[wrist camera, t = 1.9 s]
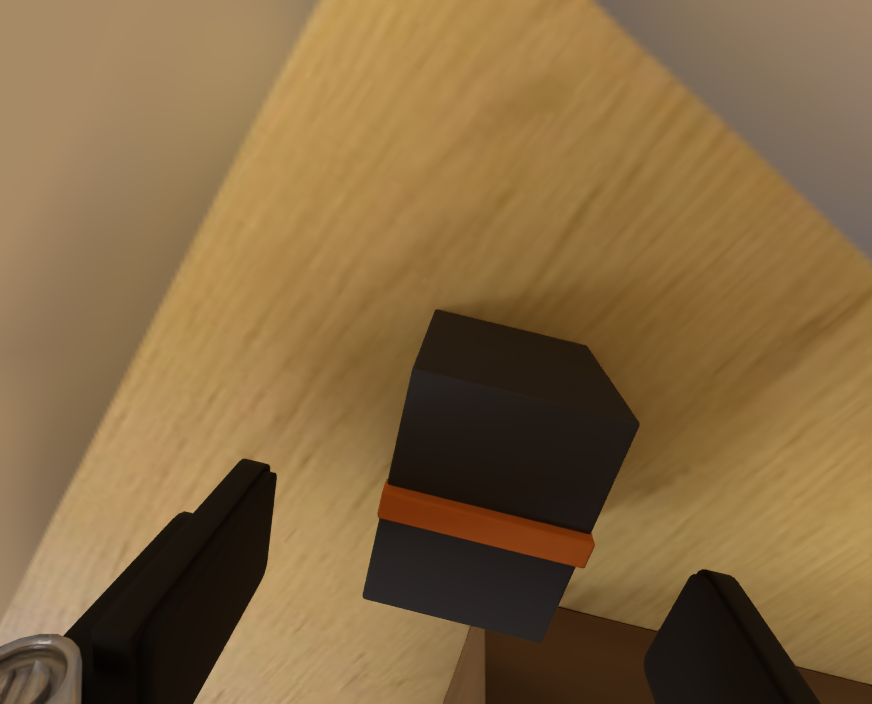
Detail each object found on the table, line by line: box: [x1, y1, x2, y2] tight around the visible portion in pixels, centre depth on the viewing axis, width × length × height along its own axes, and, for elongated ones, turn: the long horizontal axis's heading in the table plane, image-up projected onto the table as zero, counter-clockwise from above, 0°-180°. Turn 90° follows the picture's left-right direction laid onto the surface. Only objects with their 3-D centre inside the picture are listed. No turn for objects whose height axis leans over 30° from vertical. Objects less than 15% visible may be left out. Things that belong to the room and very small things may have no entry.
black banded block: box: [363, 310, 639, 643], centre depth 13 cm, size 5×7×5 cm
